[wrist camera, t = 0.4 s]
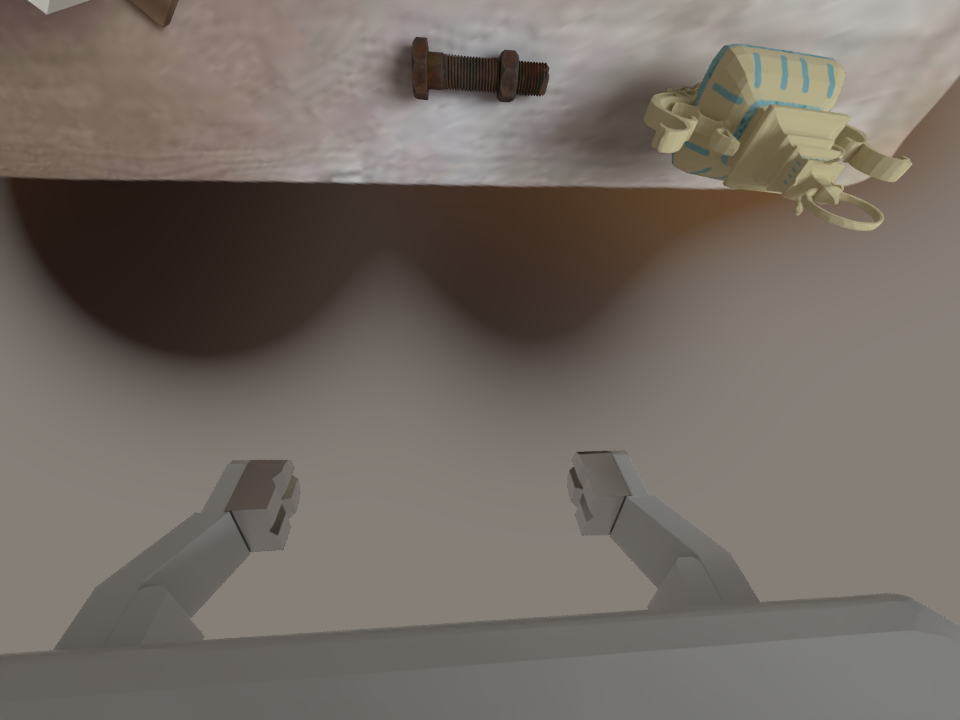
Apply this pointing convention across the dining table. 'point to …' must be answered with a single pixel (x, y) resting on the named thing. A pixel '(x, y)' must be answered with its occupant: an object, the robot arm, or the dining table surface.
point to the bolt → (476, 73)
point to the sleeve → (54, 4)
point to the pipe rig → (158, 9)
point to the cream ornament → (770, 130)
